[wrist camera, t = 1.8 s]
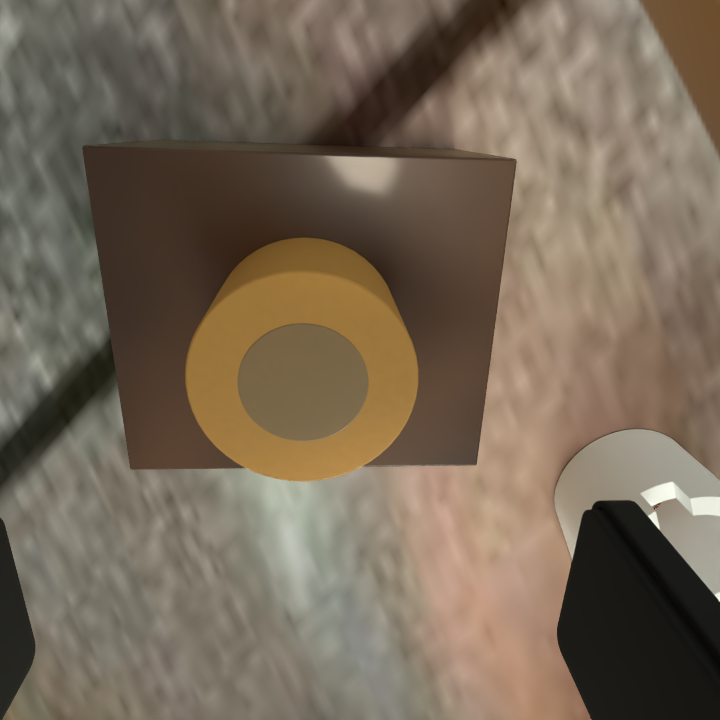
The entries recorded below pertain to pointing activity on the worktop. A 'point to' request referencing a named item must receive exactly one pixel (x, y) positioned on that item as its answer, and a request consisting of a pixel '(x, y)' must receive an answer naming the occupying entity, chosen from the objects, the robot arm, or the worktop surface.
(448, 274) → the brown square pedestal
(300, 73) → the worktop surface
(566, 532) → the white slotted cylinder
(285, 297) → the tape roll
